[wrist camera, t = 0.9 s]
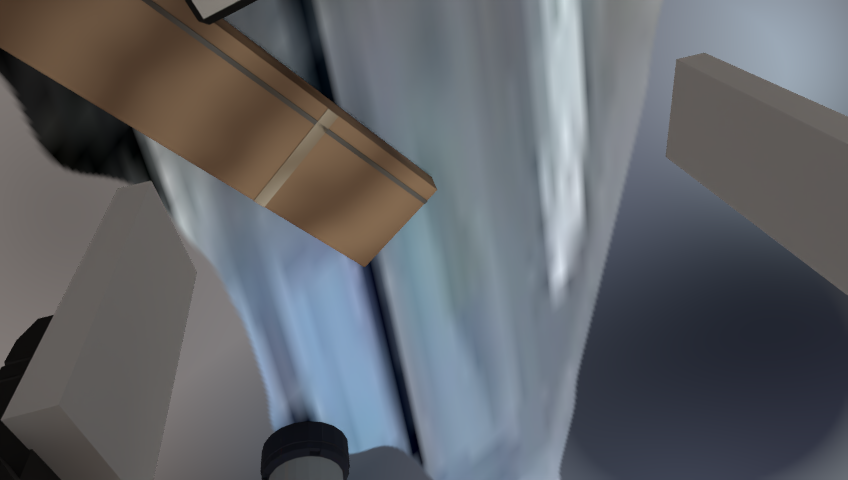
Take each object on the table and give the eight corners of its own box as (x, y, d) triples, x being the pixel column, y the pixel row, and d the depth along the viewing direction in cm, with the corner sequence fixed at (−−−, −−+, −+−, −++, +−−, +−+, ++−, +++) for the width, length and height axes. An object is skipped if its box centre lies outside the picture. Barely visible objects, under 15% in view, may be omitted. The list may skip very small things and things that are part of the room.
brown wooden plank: (-10, 22, 30) (-29, 31, 29) (59, -106, 28) (43, -105, 26) (362, 252, 43) (364, 267, 41) (431, 177, 41) (437, 190, 39)
